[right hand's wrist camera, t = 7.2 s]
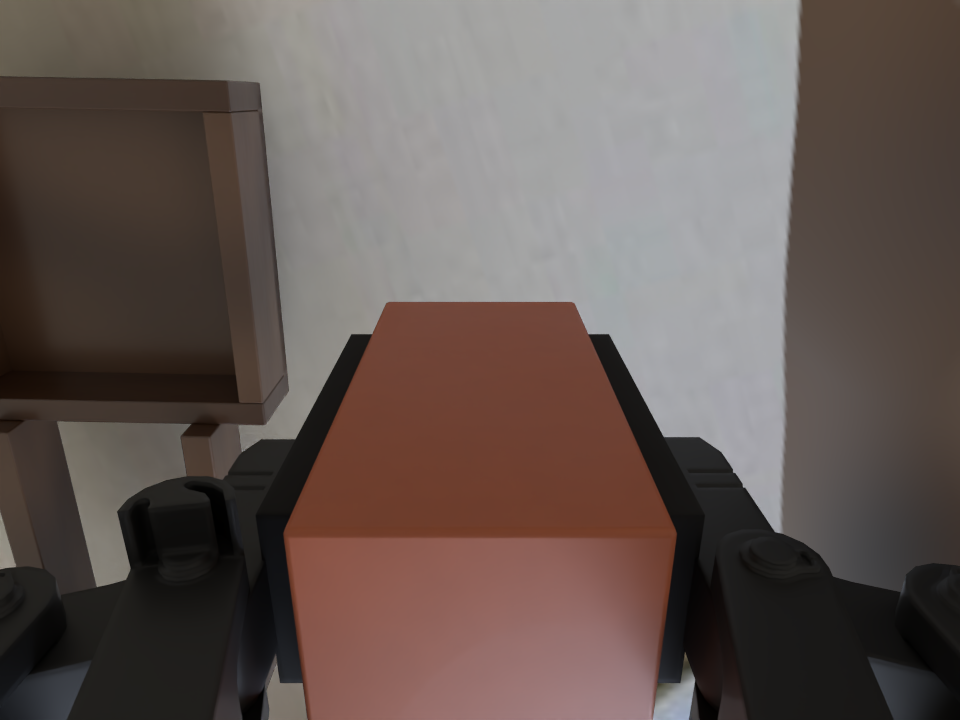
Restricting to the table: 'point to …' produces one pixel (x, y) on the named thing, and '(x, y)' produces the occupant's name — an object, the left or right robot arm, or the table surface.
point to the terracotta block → (480, 529)
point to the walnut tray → (129, 285)
